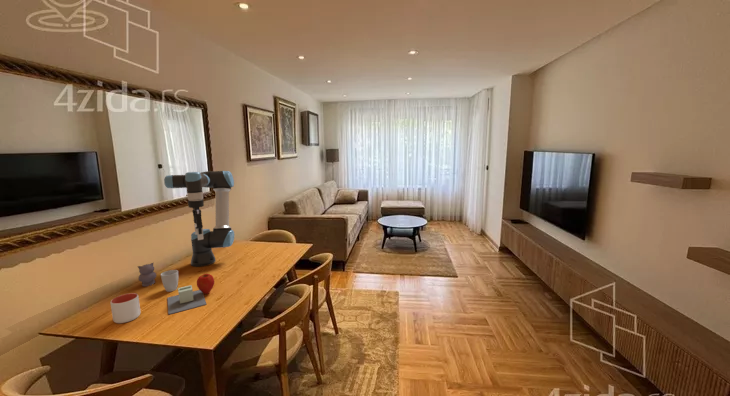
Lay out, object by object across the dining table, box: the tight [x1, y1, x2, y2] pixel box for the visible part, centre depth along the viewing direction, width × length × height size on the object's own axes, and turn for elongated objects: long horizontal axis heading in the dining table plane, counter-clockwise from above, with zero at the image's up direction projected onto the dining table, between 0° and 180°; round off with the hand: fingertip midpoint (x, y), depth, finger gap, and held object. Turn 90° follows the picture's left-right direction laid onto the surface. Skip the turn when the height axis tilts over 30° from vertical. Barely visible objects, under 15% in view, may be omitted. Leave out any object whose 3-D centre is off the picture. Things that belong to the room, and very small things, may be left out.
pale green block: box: [177, 284, 194, 304], centre depth 151 cm, size 6×6×7 cm
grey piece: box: [167, 289, 207, 316], centre depth 151 cm, size 20×16×5 cm
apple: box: [196, 273, 215, 295], centre depth 160 cm, size 9×8×11 cm
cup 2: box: [160, 269, 179, 293], centre depth 165 cm, size 8×8×10 cm
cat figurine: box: [137, 262, 157, 287], centre depth 172 cm, size 8×8×12 cm
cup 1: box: [109, 292, 141, 324], centre depth 136 cm, size 10×10×10 cm
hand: (199, 236), depth 167 cm, fingers open, 13 cm apart
